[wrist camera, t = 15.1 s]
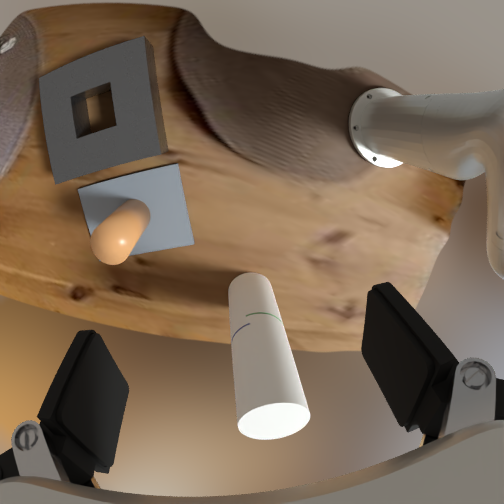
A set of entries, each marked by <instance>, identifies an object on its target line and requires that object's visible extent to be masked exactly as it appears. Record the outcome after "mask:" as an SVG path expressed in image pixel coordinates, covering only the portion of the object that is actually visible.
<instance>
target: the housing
mask: <svg viewBox="0 0 504 504" xmlns="http://www.w3.org/2000/svg"><path fill="white" fill-rule="evenodd" d="M39 87H40V98H41V107H42V116H43V123H44V130H45V136H46V142H47V147H48V153H49V158H50V163H51V167H52V172H53V176H54V181H55V185H56V184H59V183H62V182H64V181H67V180H70V179H73V178H76V177H80V176H83V175H86V174H89V173H92V172H96V171H99V170H102V169H106V168H109V167H113V166H116V165H120V164H124V163H128V162H131V161H135V160H139V159H143V158H147V157H152V156H156V155H160V154H163V153H165V152H167V151H168V145H167V140H166V134H165V128H164V122H163V116H162V110H161V103H160V97H159V90H158V83H157V76H156V68H155V60H154V52H153V46H152V44H151V43H150V42H149V41H148V40H147V39H146V38H145V37H144V36H143V37H139V38H136V39H133V40H129V41H126V42H123V43H120V44H117V45H114V46H111V47H108V48H106V49H103V50H100V51H97V52H95V53H92V54H90V55H87V56H85V57H82V58H80V59H78V60H75V61H73V62H71V63H69V64H66V65H64V66H62V67H60V68H58V69H56V70H54V71H52V72H50V73H48V74H46V75H44V76H42V77H40V78H39ZM110 90H112V98H113V105H114V112H115V118H116V124H117V126H114V127H110V128H107V129H104V130H101V131H98V132H95V133H92V134H91V129H90V123H89V116H88V109H87V102H86V99H87V98H90V97H93V96H95V95H98V94H101V93H104V92H107V91H110Z"/></svg>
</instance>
